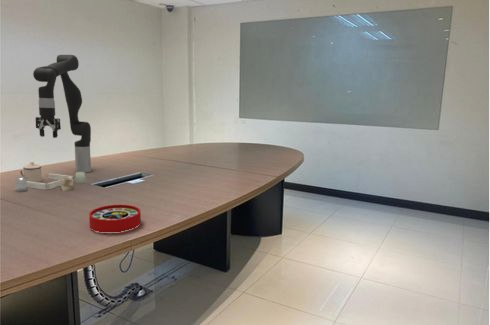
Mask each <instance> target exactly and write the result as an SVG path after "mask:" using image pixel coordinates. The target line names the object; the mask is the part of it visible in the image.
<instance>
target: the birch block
mask: <svg viewBox="0 0 490 325" xmlns="http://www.w3.org/2000/svg"><path fill="white" fill-rule="evenodd" d="M60 180H61V186H60V190H62V191H63V192H68V191H74V182H73V179H72V178H61V179H60Z"/></svg>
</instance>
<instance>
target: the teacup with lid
mask: <svg viewBox="0 0 490 325" xmlns="http://www.w3.org/2000/svg"><path fill="white" fill-rule="evenodd" d="M19 174H20V175H21V176H20V177H26V180H27V181H30V182H38V183H42V181H43V180H42V178H43V177H42V165H40V164H37V163H35V162H34V161H30V162H29V163H28V164H27V165H24V166H23V168H21V169H20V170H19Z"/></svg>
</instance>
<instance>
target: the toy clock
mask: <svg viewBox="0 0 490 325" xmlns="http://www.w3.org/2000/svg"><path fill="white" fill-rule="evenodd" d="M88 215H89V229H90V228H91V229H93V230H95V231H99V232H121V231H125V230H129V229H132V228H135V227H136V226H138V225H139V224H140V222H141V221H142V220H141V209H140V208H139V207H137V206H135V205H131V204H130V205H129V204H110V205H104V206H100V207H97V208H94V209H92V210H90V212H89V213H88ZM141 223H142V222H141ZM140 225H141V224H140ZM91 229H90V230H91Z"/></svg>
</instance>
